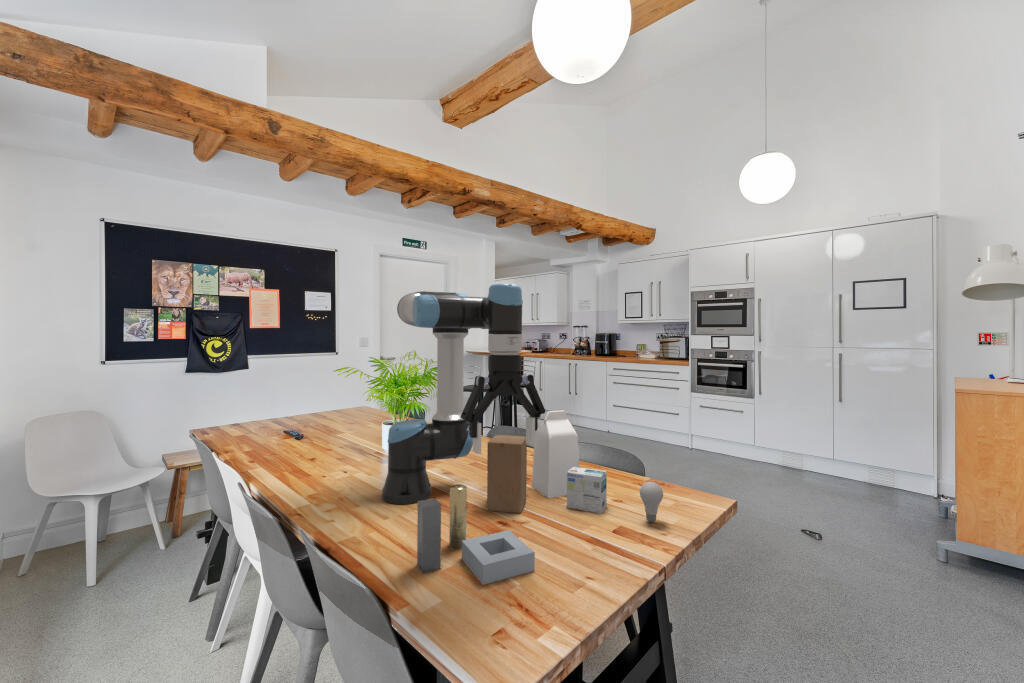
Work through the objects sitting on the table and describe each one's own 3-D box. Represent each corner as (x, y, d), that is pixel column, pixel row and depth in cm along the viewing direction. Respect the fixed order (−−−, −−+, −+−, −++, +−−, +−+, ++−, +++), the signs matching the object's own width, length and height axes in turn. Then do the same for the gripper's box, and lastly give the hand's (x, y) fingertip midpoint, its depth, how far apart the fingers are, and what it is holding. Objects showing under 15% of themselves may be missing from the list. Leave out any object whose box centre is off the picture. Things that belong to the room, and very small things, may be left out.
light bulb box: (607, 506, 130) (607, 470, 130) (601, 514, 124) (602, 476, 124) (572, 500, 135) (572, 465, 135) (565, 508, 128) (566, 471, 128)
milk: (548, 498, 136) (548, 415, 136) (531, 486, 147) (532, 409, 147) (580, 493, 141) (581, 412, 141) (562, 482, 152) (563, 407, 152)
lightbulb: (651, 528, 114) (651, 487, 114) (634, 520, 120) (634, 480, 120) (667, 524, 117) (668, 483, 117) (651, 516, 123) (651, 477, 123)
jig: (483, 584, 88) (483, 565, 88) (461, 558, 98) (461, 540, 98) (534, 570, 93) (534, 552, 93) (508, 546, 104) (508, 530, 104)
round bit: (445, 546, 104) (446, 487, 104) (457, 540, 107) (458, 483, 107) (457, 551, 102) (458, 491, 102) (469, 544, 105) (470, 486, 105)
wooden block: (520, 513, 124) (521, 443, 124) (486, 510, 126) (487, 441, 126) (526, 501, 134) (527, 436, 133) (494, 498, 136) (495, 434, 135)
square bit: (422, 573, 92) (422, 507, 92) (417, 564, 95) (417, 501, 95) (440, 569, 94) (441, 504, 94) (434, 560, 97) (435, 498, 97)
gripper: (459, 354, 88) (459, 460, 88) (560, 353, 100) (559, 445, 100) (446, 353, 94) (445, 451, 94) (542, 352, 107) (541, 439, 107)
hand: (504, 448), depth 97 cm, fingers open, 13 cm apart
